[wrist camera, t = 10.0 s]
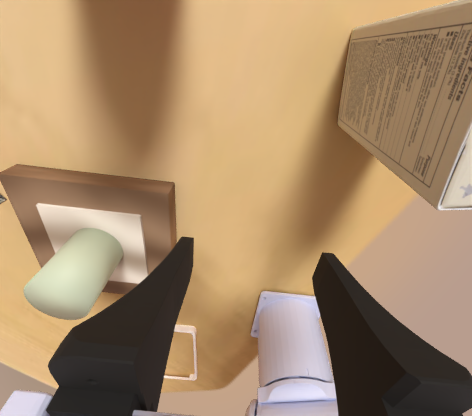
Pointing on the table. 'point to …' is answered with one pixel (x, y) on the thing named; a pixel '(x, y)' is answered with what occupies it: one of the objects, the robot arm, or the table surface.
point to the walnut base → (95, 215)
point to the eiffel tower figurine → (2, 199)
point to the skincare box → (415, 99)
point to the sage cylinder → (75, 275)
